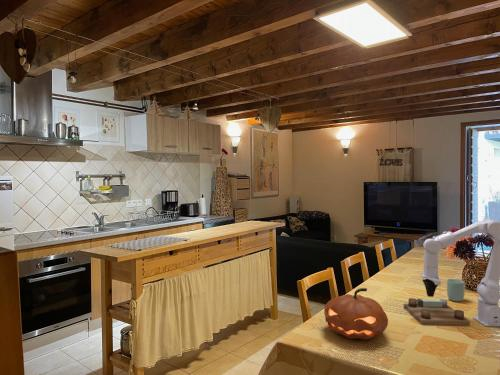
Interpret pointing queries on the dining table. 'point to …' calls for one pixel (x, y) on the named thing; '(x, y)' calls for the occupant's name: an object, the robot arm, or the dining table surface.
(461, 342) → the dining table surface
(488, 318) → the robot arm
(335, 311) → the pumpkin
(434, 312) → the stool seat
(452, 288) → the cup
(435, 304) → the swing leg
